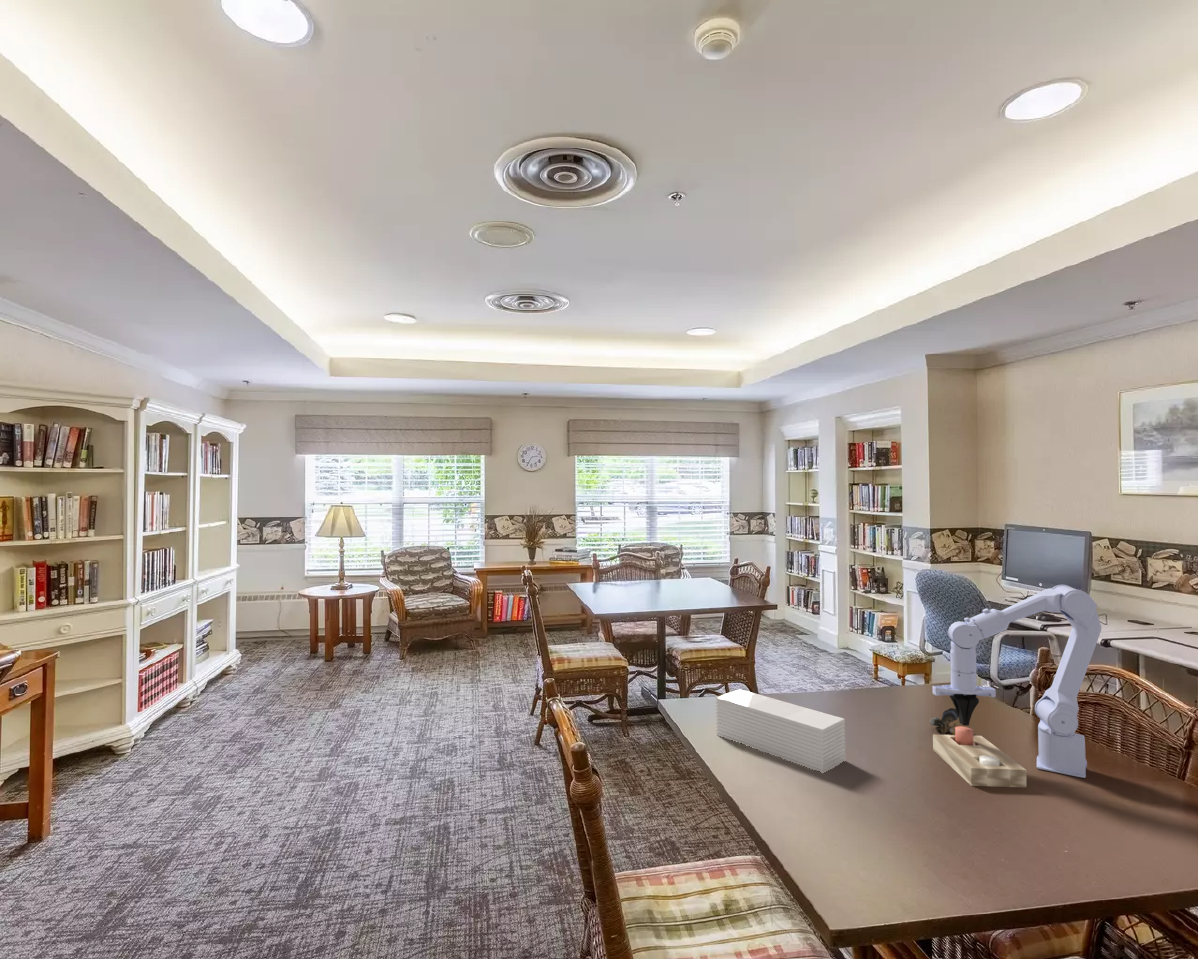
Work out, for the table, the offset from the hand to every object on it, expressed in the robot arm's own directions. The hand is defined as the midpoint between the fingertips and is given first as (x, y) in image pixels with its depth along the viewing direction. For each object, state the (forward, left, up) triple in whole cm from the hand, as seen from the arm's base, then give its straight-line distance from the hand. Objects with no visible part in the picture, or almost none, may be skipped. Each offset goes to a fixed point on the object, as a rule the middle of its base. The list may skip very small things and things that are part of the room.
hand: (964, 724), depth 161 cm
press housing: (-3, +5, -8) cm, 10 cm away
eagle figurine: (+6, -16, -9) cm, 19 cm away
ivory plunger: (-6, +10, -8) cm, 15 cm away
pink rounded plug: (0, 0, -6) cm, 6 cm away
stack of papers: (+41, +20, -9) cm, 47 cm away
